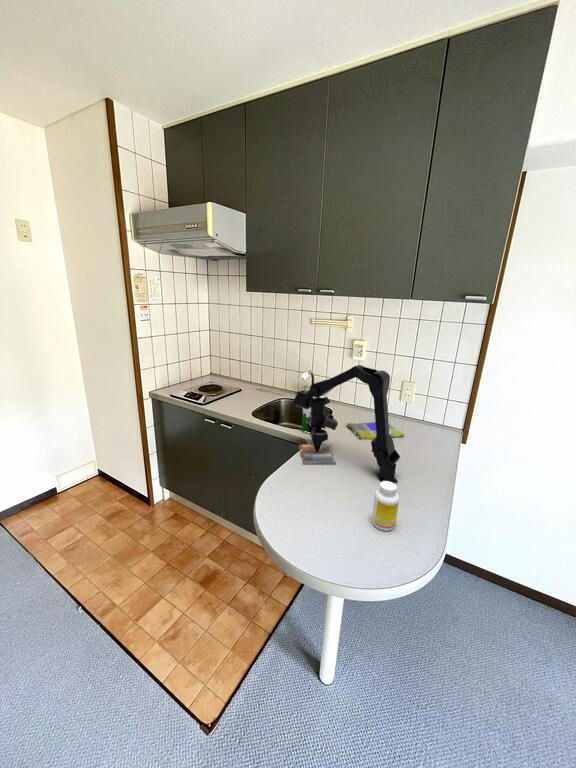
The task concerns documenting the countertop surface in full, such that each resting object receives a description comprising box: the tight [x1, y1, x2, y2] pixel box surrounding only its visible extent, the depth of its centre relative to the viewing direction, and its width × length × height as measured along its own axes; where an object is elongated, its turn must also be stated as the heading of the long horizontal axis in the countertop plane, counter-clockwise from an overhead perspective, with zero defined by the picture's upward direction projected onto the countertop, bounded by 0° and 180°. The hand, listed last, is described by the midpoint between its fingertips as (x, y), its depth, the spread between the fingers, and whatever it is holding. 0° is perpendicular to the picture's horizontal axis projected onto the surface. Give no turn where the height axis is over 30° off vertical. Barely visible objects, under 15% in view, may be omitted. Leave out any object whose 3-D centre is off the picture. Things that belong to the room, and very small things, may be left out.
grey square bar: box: [304, 453, 334, 461], centre depth 125 cm, size 11×2×2 cm, turn 94°
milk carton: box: [301, 390, 325, 432], centre depth 152 cm, size 9×9×20 cm
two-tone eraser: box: [301, 443, 330, 451], centre depth 133 cm, size 11×2×2 cm, turn 94°
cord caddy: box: [298, 444, 337, 466], centre depth 129 cm, size 15×13×2 cm
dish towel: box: [346, 421, 405, 440], centre depth 157 cm, size 18×24×3 cm
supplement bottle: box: [371, 481, 400, 532], centre depth 91 cm, size 7×7×13 cm
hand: (315, 446), depth 133 cm, fingers open, 9 cm apart
